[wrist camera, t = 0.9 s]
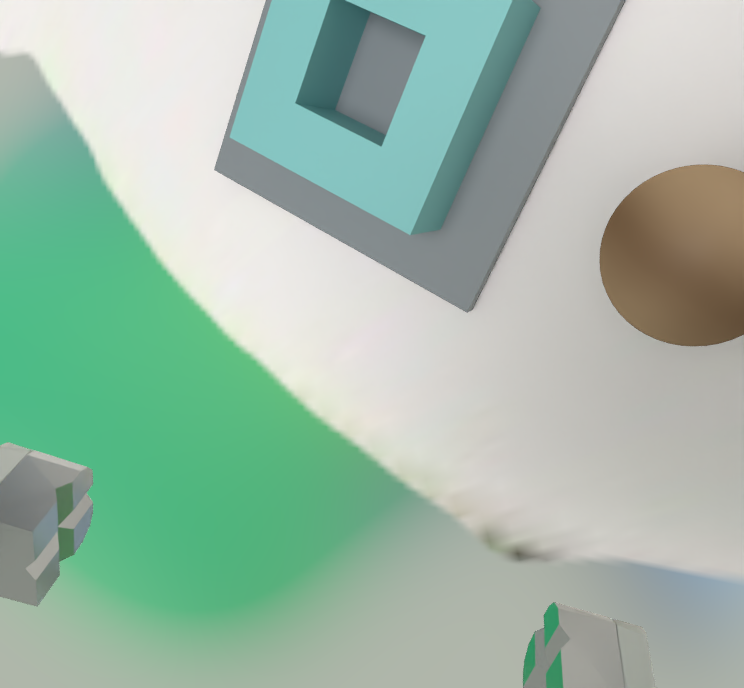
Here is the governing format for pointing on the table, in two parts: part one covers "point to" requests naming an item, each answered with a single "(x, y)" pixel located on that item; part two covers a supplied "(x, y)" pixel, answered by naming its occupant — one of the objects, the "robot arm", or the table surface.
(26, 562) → the robot arm
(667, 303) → the pin
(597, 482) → the table surface
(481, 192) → the socket board
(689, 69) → the table surface
